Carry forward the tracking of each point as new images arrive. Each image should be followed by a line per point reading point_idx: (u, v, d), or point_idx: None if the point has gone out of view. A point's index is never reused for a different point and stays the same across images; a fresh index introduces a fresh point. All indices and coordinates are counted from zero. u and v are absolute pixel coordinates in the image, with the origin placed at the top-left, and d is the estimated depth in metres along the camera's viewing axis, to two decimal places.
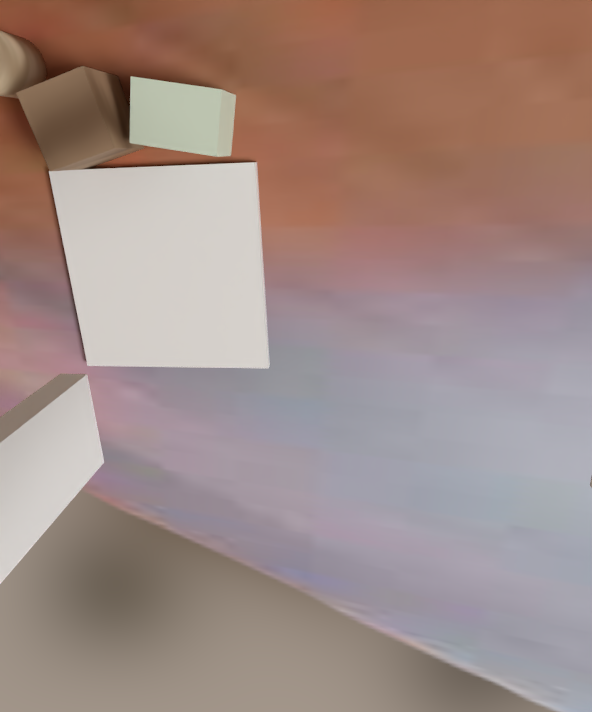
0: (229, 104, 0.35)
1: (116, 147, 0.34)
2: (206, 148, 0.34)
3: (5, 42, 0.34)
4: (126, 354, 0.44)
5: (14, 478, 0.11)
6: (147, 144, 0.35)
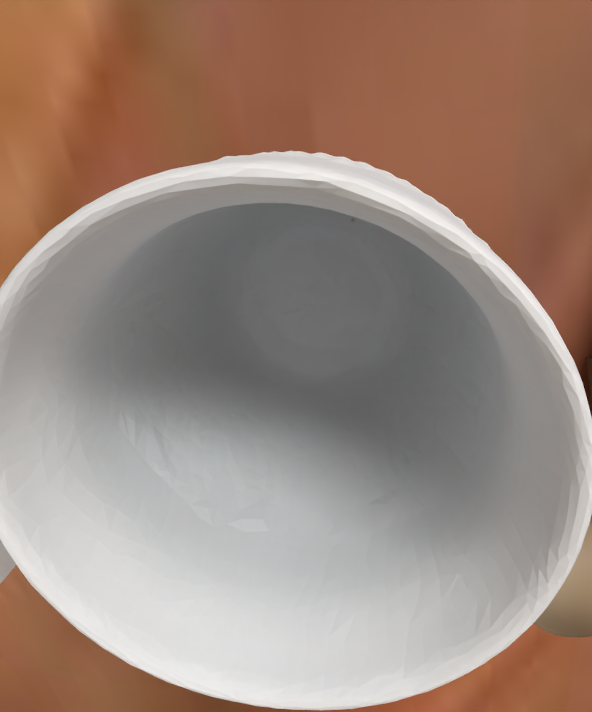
0: None
1: None
2: None
3: None
4: None
5: None
6: None
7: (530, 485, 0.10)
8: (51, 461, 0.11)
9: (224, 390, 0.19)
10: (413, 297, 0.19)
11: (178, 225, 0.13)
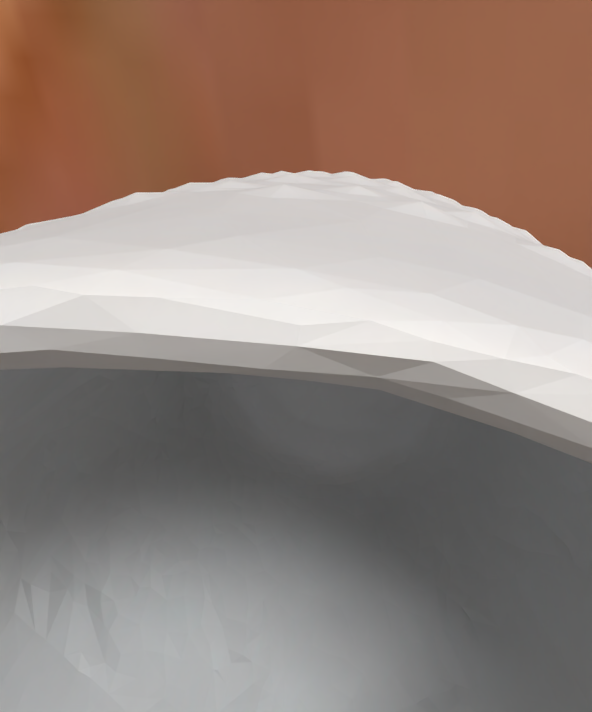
0: None
1: None
2: None
3: None
4: None
5: None
6: None
7: None
8: None
9: (205, 493, 0.14)
10: None
11: None
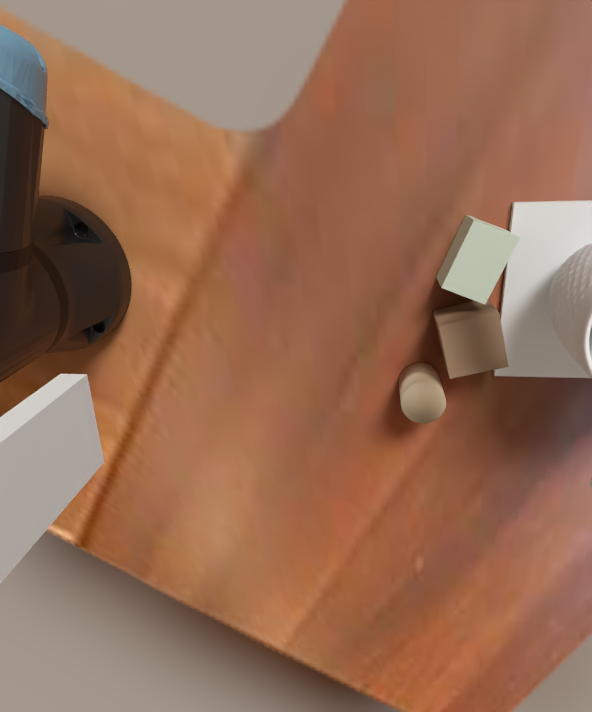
0: (476, 219, 0.44)
1: (497, 311, 0.44)
2: (511, 244, 0.42)
3: (413, 380, 0.48)
4: None
5: (14, 478, 0.11)
6: (491, 291, 0.44)
7: None
8: None
9: None
10: None
11: None
